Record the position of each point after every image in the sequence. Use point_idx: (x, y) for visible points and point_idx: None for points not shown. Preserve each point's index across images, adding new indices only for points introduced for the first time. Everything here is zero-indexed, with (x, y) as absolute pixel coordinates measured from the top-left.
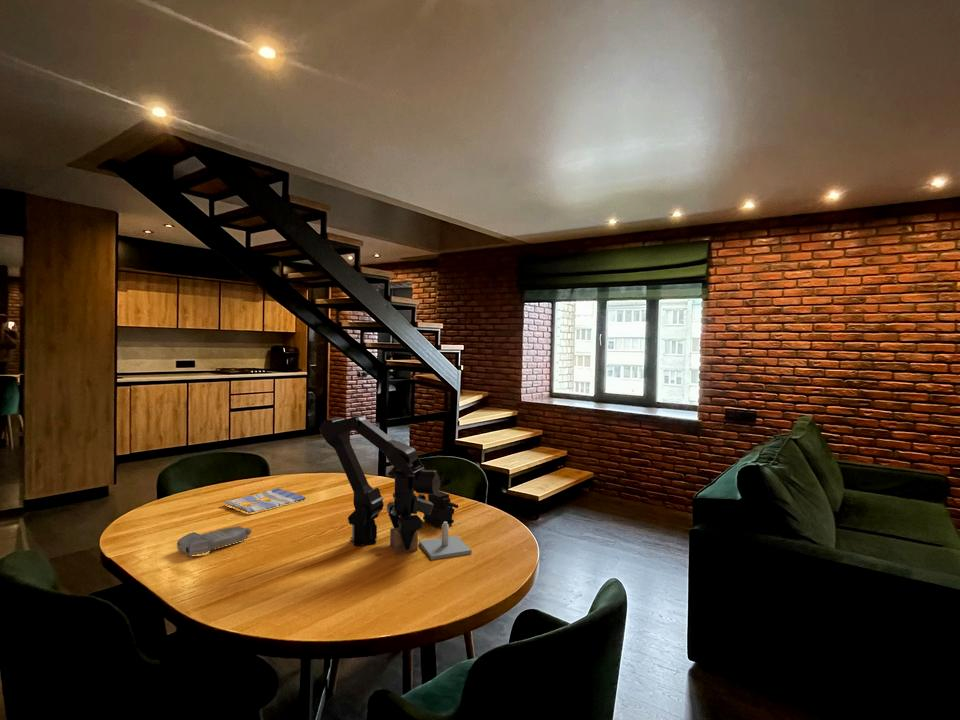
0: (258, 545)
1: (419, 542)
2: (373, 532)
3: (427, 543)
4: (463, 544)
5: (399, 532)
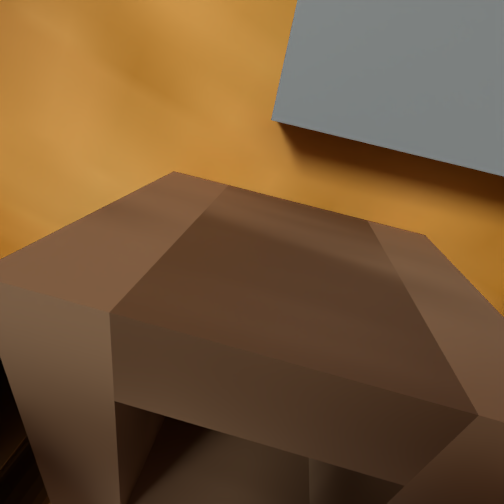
0: None
1: (284, 121)
2: (11, 459)
3: (473, 49)
4: None
5: (150, 434)
